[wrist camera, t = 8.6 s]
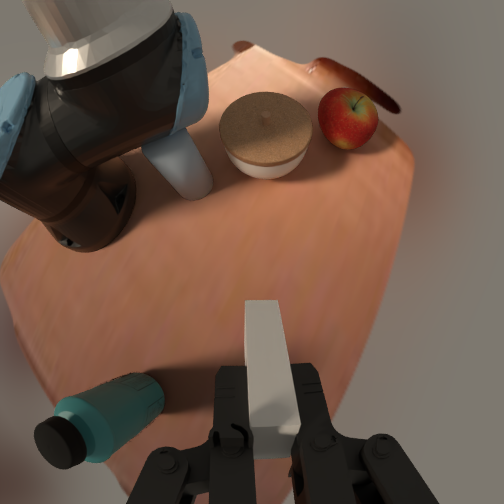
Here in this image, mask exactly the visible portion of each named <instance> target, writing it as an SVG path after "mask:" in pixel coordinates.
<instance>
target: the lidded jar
mask: <svg viewBox="0 0 504 504" xmlns="http://www.w3.org/2000/svg"><path fill="white" fill-rule="evenodd" d="M219 131H220V136H221V139H222V142H223V144H224V147H225V150H226V153H227V155H228V157H229V158H230V160H231V161H232V163H233V164H234V165H235V166H236V167H237V168H238V169H239V170H240V171H242V172H243V173H245V174H247V175H249V176H251V177H254V178H258V179H275V178H279V177H282V176H284V175H286V174H288V173H289V172H291V171H292V170H294V169H295V168H296V167H297V166H298V164H299V163H300V162H301V160H302V159H303V157H304V155H305V153H306V151H307V148H308V145H309V143H310V141H311V137H312V132H313V126H312V121H311V118H310V116H309V114H308V112H307V111H306V109H305V108H304V107H303V106H302V105H301V104H299V103H298V102H297V101H295V100H294V99H292V98H290V97H288V96H286V95H283V94H279V93H274V92H257V93H252V94H248V95H245V96H243V97H241V98H239V99H237V100H236V101H234V102H233V103H232V104H230V105H229V107H228V108H227V109H226V110H225V111H224V113H223V115H222V117H221V120H220V124H219Z"/></svg>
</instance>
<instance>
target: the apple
mask: <svg viewBox="0 0 504 504" xmlns="http://www.w3.org/2000/svg"><path fill="white" fill-rule="evenodd" d="M318 119H319V124H320V127H321V130H322V132H323V133H324V135H325V137H326V138H327V139H328V140H329V141H330V142H331V143H332V144H333V145H335V146H337V147H339V148H341V149H354V148H357V147H360V146H361V145H363V144H365V143H366V142H367V141H368V140H369V139H370V138H371V137H372V135H373V134H374V132H375V130H376V128H377V124H378V113H377V110H376V108H375V106H374V104H373V102H372V101H371V100H370V99H369V98H368V97H367V96H366V95H365V94H363V93H361V92H359V91H357V90H354V89H351V88H337V89H334V90H331V91H329V92H328V93H327V94H326V95H325V96H324V97H323V98H322V100H321V102H320V104H319V108H318Z"/></svg>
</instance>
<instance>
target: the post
mask: <svg viewBox="0 0 504 504" xmlns="http://www.w3.org/2000/svg"><path fill="white" fill-rule="evenodd" d="M141 148H142V152H143V154H144V155H145V156H146V157H147V159H148V160H149V161H150V162H151V163H152V164H153V165H154V166H155V168H156V169H157V170H158V171H159V172H160V173H161V174H162V175H163V176H164V178H165V179H166V180H167V181H168V182H169V183H170V184H171V185H172V186H173V187H174V189H175V190H176V191H177V192H178V193H179V194H180V195H181V196H182V197H183V198H185V199H187V200H199V199H201V198H203V197H205V196H206V195H207V194H208V193H209V192H210V191H211V189H212V187H213V177H212V175H211V173H210V171H209V169H208V167H207V165H206V164H205V162H204V160H203V158H202V156H201V155H200V153H199V151H198V149H197V147H196V146H195V144H194V142H193V140H192V138H191V137H190V135H189V133H188V131H187V129H186V128H183V129H181V130H178V131H176V132H175V133H174V134H173V135H171V136H168V137H167V136H166V137H164V138H161V139H158V140H156V141H153V142H151V143H148V144H146V145H143V146H141Z"/></svg>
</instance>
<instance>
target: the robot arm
mask: <svg viewBox="0 0 504 504" xmlns="http://www.w3.org/2000/svg"><path fill="white" fill-rule="evenodd" d="M21 1H22V3H23V4H24V6H25V8H26V9H27V11H28V12H29V14H30V16H31V18H32V19H33V21H34V22H35V24H36V26H37V27H38V29H39V31H40V32H41V34H42V35H43V37H44V38H45V40H46V42H47V43H48V45H49V49H48V53H47V56H46V59H45V63H44V67H43V70H44V73H45V75H46V76H45V77H44V78H42V79H40V80H39V81H36V80H35V77H34V76H33V75H30V74H28V73H26V72H24V73H21V74H17V75H15V76H13V77H12V78H11V79H9V80H8V81H7V82H6V83H5V84H4V85H3V86H2V87H1V88H0V200H1V201H3V202H5V203H7V204H9V205H11V206H12V207H14V208H16V209H18V210H20V211H22V212H24V213H26V214H28V215H30V216H32V217H34V218H36V219H38V220H40V221H41V222H42V223H43V224H44V226H45V227H46V228H47V230H48V231H49V232H50V233H51V235H52V236H53V237H54V238H55V240H56V241H57V242H58V243H60V244H61V245H62V246H64V247H66V248H69V249H71V250H73V251H76V252H92V251H95V250H98V249H100V248H102V247H104V246H106V245H107V244H108V243H110V242H111V241H112V240H113V239H114V238H115V237H116V236H117V235H118V234H119V233H120V232H121V231H122V229H123V228H124V226H125V225H126V223H127V221H128V220H129V218H130V215H131V213H132V210H133V207H134V203H135V197H136V185H135V180H134V177H133V174H132V172H131V171H130V169H129V168H128V167H127V165H126V164H125V163H124V162H123V161H122V160H121V159H120V158H119V157H118V156H120V155H122V154H124V153H127V152H129V151H131V150H134V149H136V148H138V147H141V146H143V145H146V144H148V143H151V142H153V141H156V140H158V139H161V138H164V137H166V136H167V137H168V136H171V135H173V134H174V133H175V132H176V131H178V130H181V129H183V128H185V127H188V126H190V125H192V124H195V123H197V122H198V121H199V120H201V119H202V118H203V116H204V115H205V113H206V111H207V108H208V102H209V87H208V76H207V68H206V63H205V58H204V56H203V54H202V52H203V51H202V44H201V38H200V35H199V31H198V28H197V25H196V23H195V21H194V19H193V17H192V16H191V15H190V14H188V13H180V12H177V13H174V10H173V7H172V4H171V2H170V1H169V0H21ZM244 346H245V366H221V368H220V369H219V371H218V373H217V374H216V379H215V398H214V418H213V428H212V429H211V430H210V433H209V436H208V440H207V441H206V442H205V443H204V444H202V445H200V446H198V447H195V448H190V449H185V450H181V451H180V450H178V449H176V448H173V447H161V448H158V449H156V450H154V451H152V453H151V454H150V455H149V456H148V458H147V460H146V462H145V464H144V467H143V469H142V471H141V473H140V475H139V477H138V479H137V481H136V484H135V486H134V488H133V490H132V492H131V494H130V496H129V499H128V501H127V503H126V504H194V502H195V499H196V496H197V495H198V494H202V493H207V492H209V504H256V488H255V472H254V459H273V458H287V457H290V455H291V456H292V466H291V468H290V470H289V475H288V477H291V476H292V484H293V492H294V500H295V504H439V503H438V501H437V499H436V498H435V497H434V495H433V494H432V492H431V491H430V489H429V488H428V486H427V484H426V483H425V481H424V480H423V479H422V477H421V476H420V474H419V473H418V471H417V470H416V468H415V467H414V465H413V464H412V462H411V461H410V459H409V458H408V456H407V455H406V453H405V452H404V450H403V449H402V447H401V446H400V444H399V443H398V442H397V441H396V440H395V439H394V438H393V437H392V436H390V435H388V434H376V435H373V436H372V437H370V438H369V439H368V440H365V439H356V438H349V437H345V436H343V435H341V434H340V433H338V432H337V431H336V430H335V429H334V427H333V426H332V423H331V420H330V416H329V412H328V408H327V404H326V400H325V396H324V393H323V389H322V385H321V381H320V378H319V374H318V371H317V370H316V369H315V368H314V366H313V365H312V364H311V363H299V364H290V362H289V357H288V351H287V346H286V341H285V335H284V330H283V325H282V320H281V315H280V309H279V304H278V300H245V335H244Z"/></svg>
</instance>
